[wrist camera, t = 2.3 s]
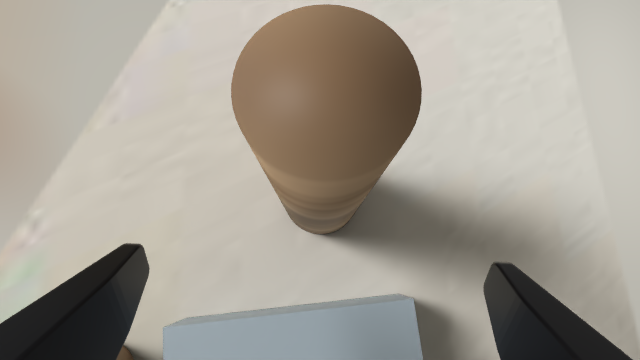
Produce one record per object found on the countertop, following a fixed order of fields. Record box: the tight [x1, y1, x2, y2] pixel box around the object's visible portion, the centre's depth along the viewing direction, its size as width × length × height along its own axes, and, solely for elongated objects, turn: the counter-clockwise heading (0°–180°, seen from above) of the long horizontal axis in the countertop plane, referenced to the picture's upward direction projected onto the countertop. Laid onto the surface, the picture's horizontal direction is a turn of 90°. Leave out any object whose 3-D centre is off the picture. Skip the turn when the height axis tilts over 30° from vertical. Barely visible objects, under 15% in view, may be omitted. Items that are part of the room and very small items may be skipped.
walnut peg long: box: [231, 5, 422, 234], centre depth 14 cm, size 4×4×13 cm
